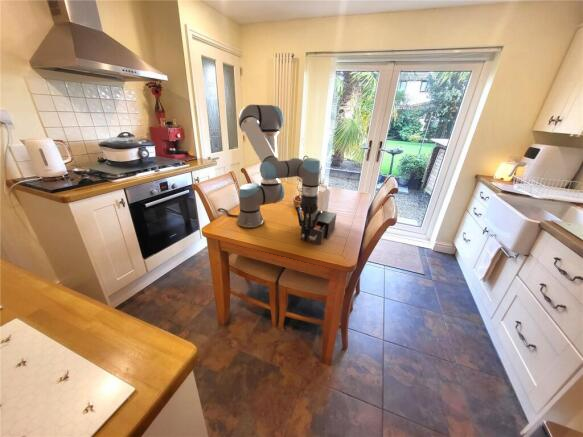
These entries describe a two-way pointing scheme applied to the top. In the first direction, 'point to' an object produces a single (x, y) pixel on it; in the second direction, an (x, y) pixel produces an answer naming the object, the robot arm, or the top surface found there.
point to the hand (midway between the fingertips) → (306, 239)
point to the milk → (323, 198)
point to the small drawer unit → (326, 221)
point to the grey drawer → (316, 234)
